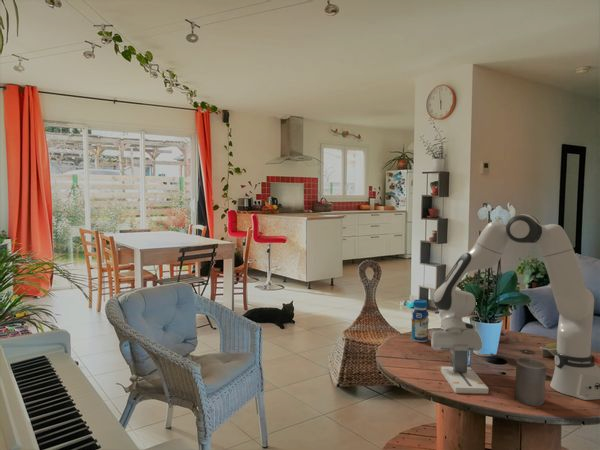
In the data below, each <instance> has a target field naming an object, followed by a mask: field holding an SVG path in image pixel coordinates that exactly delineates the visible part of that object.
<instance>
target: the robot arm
mask: <svg viewBox="0 0 600 450" xmlns="http://www.w3.org/2000/svg"><path fill="white" fill-rule="evenodd" d="M511 242H515V243H519V244H520V243H521V244H535V245H536V246H537V248H538V249H539V253H540V257H541V258H542V261H543V264H544V266H545V269H546V272H547V276H548V279H549V283H550V288H551V291H552V294H553V299H554V302H555V305H556V309H557V312H558V313H559V316H558V325H557V331H556V333H557V334H556V335H557V336H556V343H557V349H556V350H555V356H554V372H553V375H552V378H551V382H550V384H549V385H550V387H551V389H553V390H554V391H556V392H557V393H558V392H559V393H561V394H564V395H567V396H571V397H574V398H577V399H580V400H584V401H591V400H593V401H594V400H600V367H599V366H597V365H596V364H600V358H599V357H598V356H594V355H592V353H591V350H592V331H593V322H594V307H595V297H594V295H593V293H592V292H591V290H590V289H588V288H587V287H586V283H585V281H584V280H585V279H584V277H583V272H582V268H581V266H580V263H579V261H578V258H577V255H576V252H575V249H574V247H573V244H572V243H571V240H570V238H569V236H568V235H567V232H566V231H565V229H564V228H563V227H562V226H561V225H559V224H556V223H549V224H540V222H539V220H538V219H537V218H536V217H535V216H533V215H530V214H527V213H525V214H524V213H521V214H518V215H514V216H512V217H511V218H509V220H508V221H507V223H503V222H500V221H491V222H489V223H487V224H486V225H485V227H484V228H483V230H482V231H481V233H480V234H479V236H478V238H477V239H476V241H475V243H474V244H473V246H472V247H471V249H470V250H469V251H467V252H466V253H463V254H462V255H460V257H459V258H458V259H457V261H456V262H455V264H454V265H453V266H452V268H451V269H450V271H449V273H448V274H447V275H446V276H445V278H444V279H443V281H442V282H441V283H440V285H438V287H437V288H436V289H435V290H434V291H433V293H432V301H433V304H434V305H435V307H436V308H437V310H438V314H439V316H440V319H441V320H440V321H441V322H440V324H441V328H439V327H438V328H436V327H435V328H434V327H433V328H431V329H430V330H428V336H429V337H430V344H431V349H432V350H433V351H450V353H451V354H452V355H454V349H453V344H459V345H468V346H469V351H468V352H472V351H473V352H475V351H479V350H480V349H481V348H482V342H481V338H480V336H479V334H478V332H477V331H475V330H476V324H473V323H468V322H467V321H466V322H465V321H463V318H465V317H467V316H470V315H471V314H472V313H474V312H476V305H477V302H476V299H477V297H475V295H474V294H473V293H471V292H468V291H465V290H460V289H457V287H458V285H459V283H461V281H462V279H464V276H465V275H466V274H468V273H469V272H472V271H476V270H486V269H487V270H488V269H491V268H493V267H495V266H497V264H498V263H499V261H500V259H501V258H502V256H503V254H504V252H505V250H506V248H507V246H508V244H509V243H511ZM452 320H453V321H454V322H453V321H452Z"/></svg>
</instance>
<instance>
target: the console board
mask: <svg viewBox="0 0 600 450" xmlns="http://www.w3.org/2000/svg"><path fill="white" fill-rule="evenodd" d="M440 372H441V374H442V376H443V377H444V378H445V380H446V381H447V383H448V384H449V386H450V387H451V388H452V390H453V391H454V393H456V394H484V395H485V394H489V387H488V386H487V384H485V383H484V381H483V380H482V379H481V378H480V377H479V375H477V373H476V372H475V371H474V370H473V369H472V367H470V366H467V373H459V372H454V371H453V366H440Z"/></svg>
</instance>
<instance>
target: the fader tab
mask: <svg viewBox="0 0 600 450" xmlns="http://www.w3.org/2000/svg"><path fill="white" fill-rule="evenodd" d="M453 349H454V355H453V354H452V355H453V356H452V357H453V360H452V362H453V363H452V365H453V366H452V367H453V371H454V372H459V373H467V367H468V358H469V357H468V356H469V355H468V354H469V352H470V351H469V346H468V345H459V344H453Z"/></svg>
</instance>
